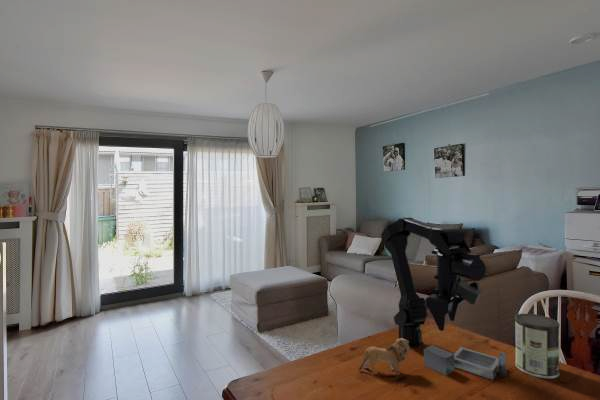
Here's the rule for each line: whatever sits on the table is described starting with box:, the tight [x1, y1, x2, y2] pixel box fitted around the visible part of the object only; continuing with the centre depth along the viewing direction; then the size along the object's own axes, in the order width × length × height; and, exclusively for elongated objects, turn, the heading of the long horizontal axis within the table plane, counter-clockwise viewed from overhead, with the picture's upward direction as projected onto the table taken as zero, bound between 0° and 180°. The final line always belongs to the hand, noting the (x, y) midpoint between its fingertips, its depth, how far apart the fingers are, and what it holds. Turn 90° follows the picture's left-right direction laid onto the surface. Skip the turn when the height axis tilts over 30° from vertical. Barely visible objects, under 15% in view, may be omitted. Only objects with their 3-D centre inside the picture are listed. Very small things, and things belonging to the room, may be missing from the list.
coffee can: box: [514, 313, 560, 380], centre depth 94 cm, size 10×10×14 cm
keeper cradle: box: [453, 346, 507, 381], centre depth 95 cm, size 13×9×6 cm
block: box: [423, 344, 455, 377], centre depth 95 cm, size 7×4×5 cm, turn 34°
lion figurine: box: [357, 338, 411, 376], centre depth 94 cm, size 15×5×9 cm, turn 93°
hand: (447, 325), depth 96 cm, fingers open, 9 cm apart
